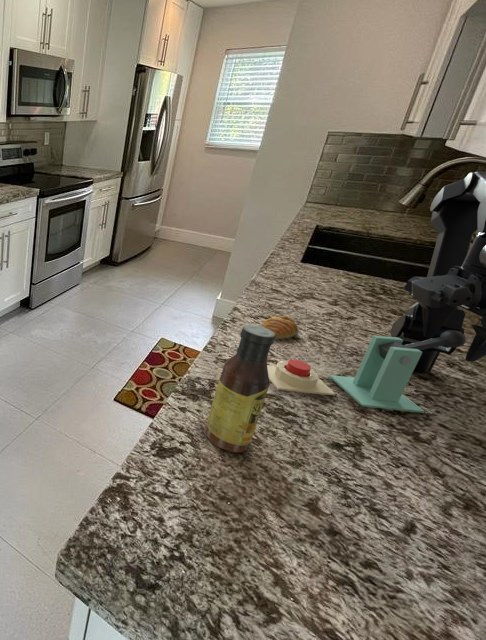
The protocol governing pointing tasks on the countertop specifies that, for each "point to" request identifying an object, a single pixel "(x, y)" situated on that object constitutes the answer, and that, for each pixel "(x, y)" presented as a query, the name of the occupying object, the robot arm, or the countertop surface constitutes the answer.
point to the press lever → (429, 342)
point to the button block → (296, 380)
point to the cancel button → (298, 368)
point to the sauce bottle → (241, 391)
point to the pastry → (281, 326)
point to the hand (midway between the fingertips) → (447, 348)
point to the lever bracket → (383, 377)
